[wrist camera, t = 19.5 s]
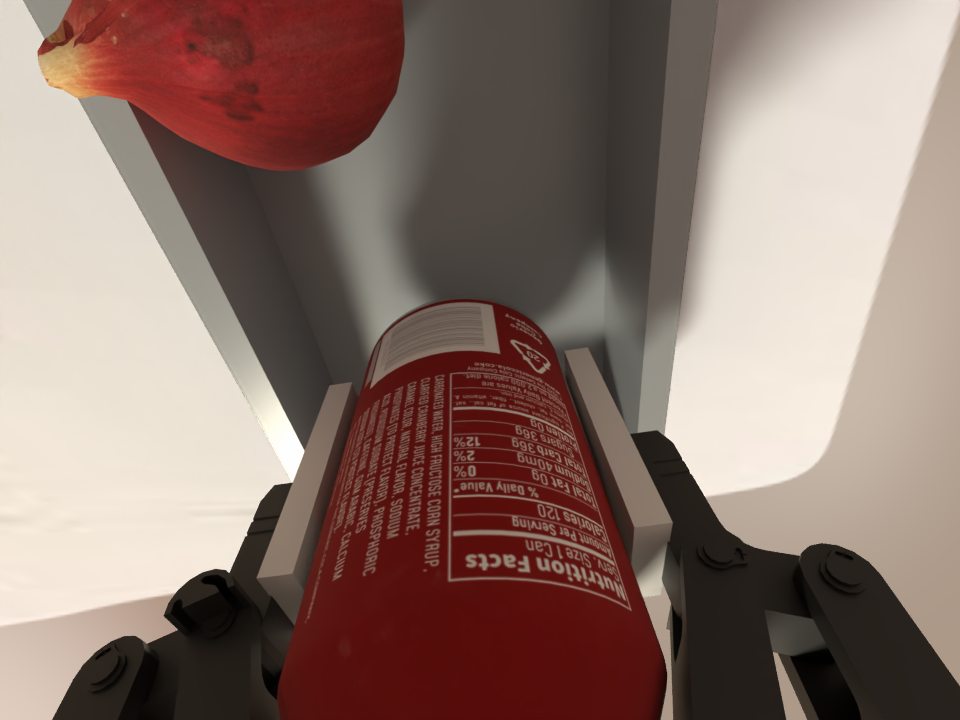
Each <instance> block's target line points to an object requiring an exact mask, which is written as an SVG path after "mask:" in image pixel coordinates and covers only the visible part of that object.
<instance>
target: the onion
mask: <svg viewBox="0 0 960 720" xmlns="http://www.w3.org/2000/svg"><path fill="white" fill-rule="evenodd" d="M404 50H405V36H404V18H403V3H402V0H72V2H71V3H70V5H69V7H68V9H67V11H66V13H65V15H64V17H63V19H62V21H61V23H60V25H59V27H58V29H57V30H56V31H55V32H53V33H52V34H51V35H50V36H49V37H46V38H45V40H44V41H43V43H42V44H41V46H40V48H39V50H38V61H39V65H40V68H41V72H42V74H43V76H44V77H45V79H46V81H47V83H48V85H49V86H51V87H55V88H59V89H62V90H64V91H66V92H68V93H70V94H71V95H73V96H75V97H77V98H78V99H80V98H86V97H91V96H107V97H113V98H117V99H122V100H127V101H129V102H131V103H132V104H134V105H135V106H137V107H139V108H140V109H142V110H143V111H145V112H146V113H147V114H149V115H150V116H151V117H153V118H154V119H155V120H157V121H158V122H159V123H161V124H162V125H164V126H165V127H167V128H168V129H170V130H171V131H173V132H174V133H176V134H177V135H179V136H180V137H182V138H184V139H186V140H188V141H190V142H192V143H194V144H196V145H198V146H200V147H202V148H205V149H207V150H209V151H211V152H214V153H216V154H218V155H220V156H223V157H225V158H227V159H231V160H234V161H237V162H240V163H243V164H246V165H249V166H252V167H258V168H264V169H269V170H275V171H290V170H304V169H307V168H310V167H314V166H317V165H320V164H323V163H326V162H329V161H331V160H334V159H336V158H339V157H341V156H343V155H346V154H348V153H350V152H351V151H353V150H354V149H355V148H356V147H358V146H359V145H360V144H361V143H363V142H364V141H365V140H366V139H368V138H369V137H370V136H371V134H372V133H373V131H374V129H375V128H376V126H377V125H378V123H379V122H380V120H381V118H382V117H383V115H384V114H385V112H386V110H387V109H388V107H389V105H390V103H391V102H392V100H393V98H394V97H395V95H396V93H397V89H398V84H399V79H400V74H401V69H402V64H403V59H404Z"/></svg>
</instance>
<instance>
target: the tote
mask: <svg viewBox="0 0 960 720" xmlns="http://www.w3.org/2000/svg"><path fill="white" fill-rule="evenodd" d="M23 1H24V3H25V4H26V6H27V8H28V10H29V12H30V13H31V15H32V17H33V19H34V21H35V22H36V24H37V26H38V28H39V29H40V31H41V33H42V35H43V37H44V38H46V37H49V36H50V35H51V34H52V33H53V32H55V31H56V30H57V29H58V27H59V25H60V23H61V21H62V19H63V17H64V15H65V13H66V11H67V9H68V7H69V5H70V3H71V2H72V0H23ZM402 3H403V18H404V36H405V50H404V59H403V64H402V69H401V74H400V79H399V84H398V89H397V93H396V95H395V97H394V98H393V100H392V102H391V103H390V105H389V107H388V109H387V110H386V112H385V114H384V115H383V117H382V118H381V120H380V122H379V123H378V125H377V126H376V128H375V129H374V131H373V133H372V134H371V136H370V137H369V138H368V139H366V140H365V141H364V142H363V143H361V144H360V145H359V146H358V147H356V148H355V149H354V150H353V151H351V152H350V153H348V154H346V155H343V156H341V157H339V158H336V159H334V160H331V161H329V162H326V163H323V164H320V165H317V166H314V167H310V168H307V169H304V170H290V171H275V170H269V169H264V168H258V167H252V166H249V165H246V164H243V163H240V162H237V161H234V160H231V159H227V158H225V157H223V156H220V155H218V154H216V153H214V152H211V151H209V150H207V149H205V148H202V147H200V146H198V145H196V144H194V143H192V142H190V141H188V140H186V139H184V138H182V137H180V136H179V135H177V134H176V133H174V132H173V131H171V130H170V129H168V128H167V127H165V126H164V125H162V124H161V123H159V122H158V121H157V120H155V119H154V118H153V117H151V116H150V115H149V114H147V113H146V112H145V111H143V110H142V109H140V108H139V107H137V106H135V105H134V104H132V103H131V102H129V101H127V100H122V99H117V98H113V97H107V96H91V97H86V98H80V99H79V101H80V103H81V105H82V106H83V108H84V110H85V112H86V114H87V115H88V117H89V119H90V121H91V123H92V124H93V126H94V128H95V130H96V132H97V133H98V135H99V137H100V139H101V140H102V142H103V144H104V146H105V148H106V149H107V151H108V153H109V155H110V157H111V158H112V160H113V162H114V164H115V166H116V167H117V169H118V171H119V173H120V175H121V176H122V178H123V180H124V182H125V183H126V185H127V187H128V189H129V191H130V192H131V194H132V196H133V198H134V200H135V201H136V203H137V205H138V207H139V209H140V210H141V212H142V214H143V216H144V217H145V219H146V221H147V223H148V225H149V226H150V228H151V230H152V232H153V234H154V235H155V237H156V239H157V241H158V243H159V244H160V246H161V248H162V250H163V251H164V253H165V255H166V257H167V259H168V260H169V262H170V264H171V266H172V268H173V269H174V271H175V273H176V275H177V277H178V278H179V280H180V282H181V284H182V286H183V287H184V289H185V291H186V293H187V294H188V296H189V298H190V300H191V302H192V303H193V305H194V307H195V309H196V311H197V312H198V314H199V316H200V318H201V320H202V321H203V323H204V325H205V327H206V328H207V330H208V332H209V334H210V336H211V337H212V339H213V341H214V343H215V345H216V346H217V348H218V350H219V352H220V354H221V355H222V357H223V359H224V361H225V363H226V364H227V366H228V368H229V370H230V371H231V373H232V375H233V377H234V379H235V380H236V382H237V384H238V386H239V388H240V389H241V391H242V393H243V395H244V397H245V398H246V400H247V402H248V404H249V405H250V407H251V409H252V411H253V413H254V414H255V416H256V418H257V420H258V422H259V423H260V425H261V427H262V429H263V431H264V432H265V434H266V436H267V438H268V439H269V441H270V443H271V445H272V447H273V448H274V450H275V452H276V454H277V456H278V457H279V459H280V461H281V463H282V465H283V466H284V468H285V470H286V472H287V474H288V475H289V477H290V479H291V481H292V482H293V481H294V478H295V475H296V473H297V470H298V467H299V465H300V462H301V459H302V457H303V454H304V451H305V449H306V446H307V444H308V441H309V438H310V436H311V433H312V430H313V428H314V425H315V422H316V420H317V417H318V414H319V412H320V409H321V407H322V404H323V401H324V399H325V396H326V393H327V391H328V388H329V385H336V384H343V383H350V382H352V383H353V386H354V388H355V391H356V394H357V396H358V398H359V395H360V391H361V388H362V384H363V381H364V377H365V373H366V370H367V366H368V363H369V359H370V356H371V353H372V351H373V349H374V346H375V344H376V343H377V341H378V340H379V338H380V336H381V335H382V334H383V333H384V331H385V330H386V329H387V328H388V327H389V326H390V325H391V324H392V323H393V322H394V321H396V320H397V319H398V318H399V317H401V316H402V315H404V314H405V313H407V312H408V311H410V310H412V309H414V308H416V307H418V306H421V305H423V304H425V303H428V302H432V301H435V300H439V299H444V298H451V297H479V298H486V299H491V300H495V301H499V302H501V303H504V304H507V305H509V306H511V307H514V308H516V309H518V310H519V311H521V312H523V313H524V314H526V315H527V316H529V317H530V318H531V319H533V320H534V321H535V322H536V323H537V324H538V325H539V326H540V327H541V328H542V329H543V330H544V332H545V333H546V334H547V336H548V337H549V339H550V340H551V342H552V344H553V346H554V348H555V351H556V354H557V356H558V359H559V362H560V365H561V368H562V370H563V373H564V376H565V360H564V351H566V350H573V349H580V348H586V347H588V349H589V351H590V353H591V355H592V357H593V360H594V362H595V364H596V366H597V368H598V370H599V372H600V374H601V376H602V378H603V380H604V382H605V384H606V386H607V388H608V390H609V392H610V394H611V397H612V399H613V401H614V403H615V405H616V407H617V409H618V411H619V413H620V415H621V417H622V419H623V421H624V423H625V425H626V427H627V429H628V431H629V434H633V433H640V432H647V431H654V430H658V431H659V432H660V433H661V434H663V435H664V433H665V425H666V417H667V409H668V401H669V393H670V385H671V377H672V369H673V361H674V353H675V345H676V337H677V329H678V321H679V312H680V304H681V296H682V288H683V280H684V272H685V264H686V256H687V248H688V240H689V232H690V224H691V216H692V208H693V200H694V192H695V184H696V176H697V168H698V160H699V152H700V144H701V136H702V128H703V120H704V112H705V104H706V96H707V88H708V80H709V72H710V64H711V56H712V48H713V40H714V32H715V24H716V16H717V8H718V0H402Z"/></svg>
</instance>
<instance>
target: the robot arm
mask: <svg viewBox="0 0 960 720" xmlns="http://www.w3.org/2000/svg"><path fill="white" fill-rule="evenodd" d="M564 360H565V379H566V382H567V384H568V387H569V390H570V393H571V396H572V399H573V401H574V404H575V407H576V410H577V413H578V416H579V418H580V421H581V424H582V427H583V430H584V433H585V435H586V438H587V441H588V444H589V447H590V449H591V452H592V455H593V458H594V461H595V464H596V466H597V469H598V472H599V475H600V478H601V481H602V483H603V486H604V489H605V492H606V495H607V498H608V500H609V503H610V506H611V509H612V512H613V514H614V517H615V520H616V523H617V526H618V529H619V531H620V534H621V537H622V540H623V543H624V546H625V548H626V551H627V554H628V557H629V560H630V562H631V565H632V568H633V571H634V574H635V577H636V579H637V582H638V585H639V588H640V591H641V594H642V596H643V597H649V596H656V595H661V591H662V584H664V586H665V589H666V591H667V594H668V596H669V599H670V601H671V607H670V613H669V617H668V623H667V629H669V630H670V638H671V663H672V664H671V665H672V695H673V720H786V716H785V711H784V706H783V701H782V696H781V691H780V687H779V681H778V677H777V672H776V666H775V661H774V656H773V652H776V653H778V654H779V657H780V659H781V661H782V664H783V665H784V668H785V670H786V673H787V675H788V677H789V679H790V682H791V684H792V686H793V688H794V691H795V693H796V695H797V697H798V700H799V702H800V704H801V706H802V709H803V711H804V713H805V715H806V718H807V720H960V686H959V684H958V683H957V682H956V680H955V679H954V678H953V676H952V675H951V673H950V672H949V670H948V669H947V668H946V666H945V665H944V663H943V662H942V661H941V659H940V658H939V656H938V655H937V653H936V652H935V651H934V649H933V648H932V646H931V645H930V644H929V642H928V641H927V639H926V638H925V637H924V635H923V634H922V633H921V631H920V630H919V628H918V627H917V625H916V624H915V623H914V621H913V620H912V618H911V617H910V615H909V614H908V613H907V611H906V610H905V608H904V607H903V606H902V604H901V603H900V601H899V600H898V599H897V597H896V596H895V594H894V593H893V592H892V590H891V589H890V587H889V586H888V584H887V583H886V582H885V580H884V579H883V577H882V576H881V575H880V574H879V572H877V570H876V569H875V568H874V567H873V566H872V565H871V564H870V563H869V562H868V561H866V560H865V559H864V558H862V557H861V556H859V555H857V554H856V553H855V552H853V551H850V550H848V549H845V548H843V547H840V546H837V545H831V544H823V543H821V544H816V545H811V546H809V547H808V548H806V549H805V550H804V551H803V552H802V553H801V555H800V556H797V555H790V554H784V553H778V552H772V551H766V550H762V549H758V548H754V547H752V546H750V545H747V544H745V543H743V542H742V541H741V539H739V538H738V537H736V536H735V535H733V534H732V533H730V532H728V531H727V530H726V529H725V528H724V527H723V526H722V524H721V523H720V522H719V520H718V518H717V517H716V515H715V513H714V512H713V510H712V508H711V507H710V505H709V503H708V502H707V500H706V498H705V496H704V495H703V493H702V491H701V490H700V488H699V486H698V484H697V483H696V481H695V479H694V478H693V476H692V474H690V472H689V469H688V467H687V466H686V464H685V462H684V461H682V457H681V456H680V454H679V452H678V451H677V449H676V447H675V445H674V444H673V442H671V441H670V440H669V439H668V438H666V437H665V436H664V435H663V434H661V433H660V432H659V431H658V430H654V431H647V432H640V433H633V434H629V431H628V429H627V427H626V425H625V423H624V421H623V419H622V417H621V415H620V413H619V411H618V409H617V407H616V405H615V403H614V401H613V399H612V397H611V394H610V392H609V390H608V388H607V386H606V384H605V382H604V380H603V378H602V376H601V374H600V372H599V370H598V368H597V366H596V364H595V362H594V360H593V357H592V355H591V353H590V351H589V349H588V347H586V348H580V349H573V350H566V351H564ZM357 402H358V396H357V394H356V391H355V388H354V386H353V383H352V382H350V383H343V384H336V385H329V388H328V391H327V393H326V396H325V399H324V401H323V404H322V407H321V409H320V412H319V414H318V417H317V420H316V422H315V425H314V428H313V430H312V433H311V436H310V438H309V441H308V444H307V446H306V449H305V451H304V454H303V457H302V459H301V462H300V465H299V467H298V470H297V473H296V475H295V478H294V481H293V483H287V484H280V485H274V486H273V488H272V489H271V490H270V491H269V492H268V493H267V495H266V496H265V497H264V498H263V499H262V500H261V502H260V504H259V506H258V509H257V511H256V513H255V516H254V518H253V520H254V521H253V522H252V523H251V525H250V527H249V529H248V532H247V536H246V537H245V539H244V541H243V543H242V546H241V548H240V550H239V552H238V555H237V557H236V559H235V562H234V564H233V566H232V568H231V571H230V573H228V572H227V571H226V570H220V569H213V570H210V571H206V572H203V573H201V574H199V575H197V576H196V577H194V578H192V579H190V580H189V581H188V582H187V583H186V584H185V585H183V586H182V587H181V588H180V589H179V590H178V591H177V592H176V594H175V595H174V596H173V598H172V599H171V600H170V602H169V603H168V606H167V609H166V611H165V614H164V617H165V618H167V620H168V621H170V622H171V623H172V624H173V625H174V626H175V627H176V628H177V629H178V630H177V631H175V632H173V633H171V634H168V635H166V636H164V637H162V638H159V639H157V640H155V641H152V642H150V643H148V644H146V643H145V642H144V641H142V640H141V639H139V638H138V637H136V636H124V637H121V638H119V639H116V640H114V641H111V642H110V643H108V644H107V645H105V646H104V647H102V648H101V649H100V650H98V651H97V652H95V653H94V655H93V656H92V657H91V658H90V659H89V660H88V661H87V662H86V663H85V664H84V665H83V666H82V667H81V669H80V670H79V672H78V673H77V675H76V676H75V678H74V679H73V681H72V683H71V685H70V687H69V689H68V691H67V693H66V694H65V696H64V698H63V700H62V702H61V704H60V706H59V708H58V710H57V712H56V713H55V715H54V717H53V719H52V720H281V719H280V715H279V709H278V702H277V694H278V685H279V680H280V676H281V672H282V669H283V665H284V662H285V658H286V655H287V651H288V648H289V644H290V640H291V637H292V633H293V630H294V626H295V623H296V619H297V616H298V612H299V608H300V605H301V601H302V598H303V594H304V591H305V587H306V584H307V580H308V576H309V573H310V569H311V566H312V562H313V559H314V555H315V551H316V548H317V544H318V541H319V537H320V534H321V530H322V527H323V523H324V519H325V516H326V512H327V509H328V505H329V502H330V498H331V495H332V491H333V487H334V484H335V480H336V477H337V473H338V470H339V466H340V462H341V459H342V455H343V452H344V448H345V445H346V441H347V438H348V434H349V430H350V427H351V423H352V420H353V416H354V413H355V409H356V406H357Z"/></svg>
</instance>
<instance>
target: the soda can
mask: <svg viewBox="0 0 960 720" xmlns="http://www.w3.org/2000/svg"><path fill="white" fill-rule="evenodd" d="M666 686H667V670H666V664H665V659H664V656H663V653H662V650H661V647H660V644H659V642H658V639H657V636H656V633H655V630H654V628H653V625H652V622H651V619H650V616H649V613H648V611H647V608H646V605H645V602H644V599H643V596H642V594H641V591H640V588H639V585H638V582H637V579H636V577H635V574H634V571H633V568H632V565H631V562H630V560H629V557H628V554H627V551H626V548H625V546H624V543H623V540H622V537H621V534H620V531H619V529H618V526H617V523H616V520H615V517H614V514H613V512H612V509H611V506H610V503H609V500H608V498H607V495H606V492H605V489H604V486H603V483H602V481H601V478H600V475H599V472H598V469H597V466H596V464H595V461H594V458H593V455H592V452H591V449H590V447H589V444H588V441H587V438H586V435H585V433H584V430H583V427H582V424H581V421H580V418H579V416H578V413H577V410H576V407H575V404H574V401H573V399H572V396H571V393H570V390H569V387H568V384H567V382H566V379H565V376H564V373H563V370H562V368H561V365H560V362H559V359H558V356H557V354H556V351H555V348H554V346H553V344H552V342H551V340H550V339H549V337H548V336H547V334H546V333H545V332H544V330H543V329H542V328H541V327H540V326H539V325H538V324H537V323H536V322H535V321H534V320H533V319H531V318H530V317H529V316H527V315H526V314H524V313H523V312H521V311H519V310H518V309H516V308H514V307H511V306H509V305H507V304H504V303H501V302H499V301H495V300H491V299H486V298H479V297H451V298H444V299H439V300H435V301H432V302H428V303H425V304H423V305H421V306H418V307H416V308H414V309H412V310H410V311H408V312H407V313H405V314H404V315H402V316H401V317H399V318H398V319H397V320H396V321H394V322H393V323H392V324H391V325H390V326H389V327H388V328H387V329H386V330H385V331H384V333H383V334H382V335H381V336H380V338H379V340H378V341H377V343H376V344H375V346H374V349H373V351H372V353H371V356H370V359H369V363H368V366H367V370H366V373H365V377H364V381H363V384H362V388H361V391H360V395H359V398H358V402H357V406H356V409H355V413H354V416H353V420H352V423H351V427H350V430H349V434H348V438H347V441H346V445H345V448H344V452H343V455H342V459H341V462H340V466H339V470H338V473H337V477H336V480H335V484H334V487H333V491H332V495H331V498H330V502H329V505H328V509H327V512H326V516H325V519H324V523H323V527H322V530H321V534H320V537H319V541H318V544H317V548H316V551H315V555H314V559H313V562H312V566H311V569H310V573H309V576H308V580H307V584H306V587H305V591H304V594H303V598H302V601H301V605H300V608H299V612H298V616H297V619H296V623H295V626H294V630H293V633H292V637H291V640H290V644H289V648H288V651H287V655H286V658H285V662H284V665H283V669H282V672H281V676H280V680H279V685H278V694H277V702H278V709H279V715H280V719H281V720H661V714H662V709H663V704H664V699H665V693H666Z"/></svg>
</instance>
